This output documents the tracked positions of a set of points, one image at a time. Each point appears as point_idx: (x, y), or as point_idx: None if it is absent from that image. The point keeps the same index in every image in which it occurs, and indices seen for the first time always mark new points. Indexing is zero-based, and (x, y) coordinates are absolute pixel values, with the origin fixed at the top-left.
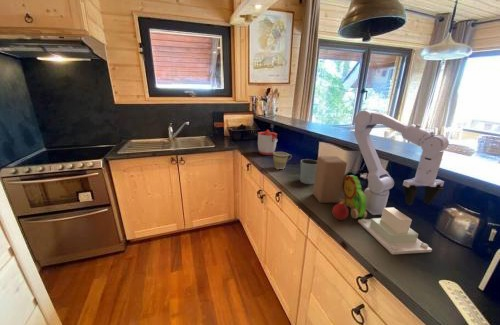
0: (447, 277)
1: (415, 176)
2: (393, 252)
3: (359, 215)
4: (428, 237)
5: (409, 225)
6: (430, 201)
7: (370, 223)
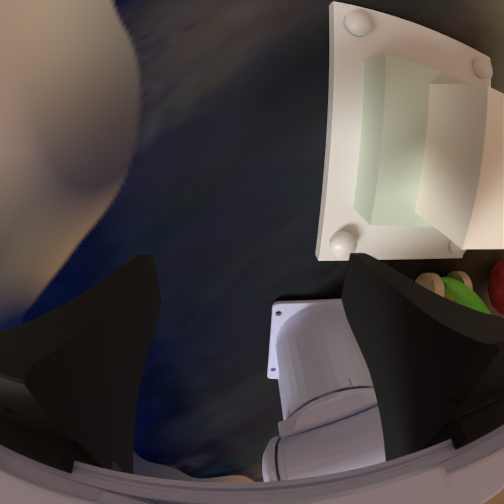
0: None
1: None
2: (486, 56)
3: (452, 278)
4: (231, 94)
5: (462, 86)
6: (137, 267)
7: None
